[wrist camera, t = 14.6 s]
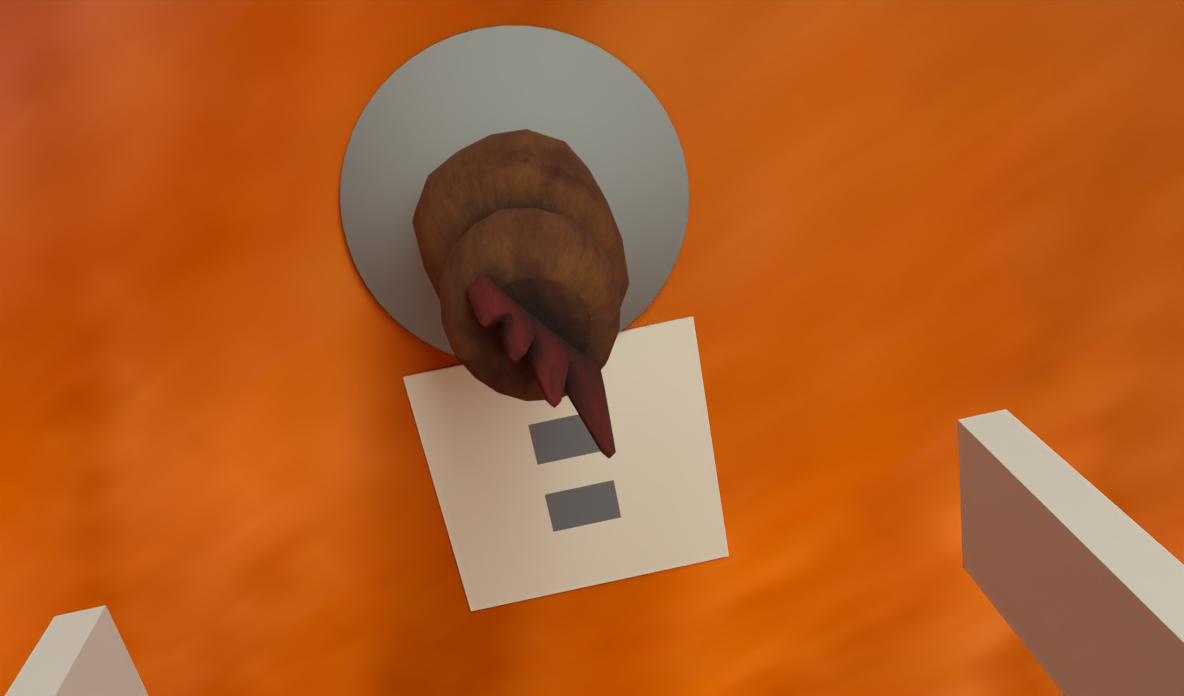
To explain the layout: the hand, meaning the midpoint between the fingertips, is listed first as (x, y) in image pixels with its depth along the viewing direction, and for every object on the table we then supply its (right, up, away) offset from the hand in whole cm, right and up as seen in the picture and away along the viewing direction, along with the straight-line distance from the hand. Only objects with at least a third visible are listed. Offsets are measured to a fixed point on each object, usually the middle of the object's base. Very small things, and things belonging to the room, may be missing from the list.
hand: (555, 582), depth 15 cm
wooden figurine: (-2, +8, +19) cm, 21 cm away
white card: (0, -1, +24) cm, 24 cm away
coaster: (-2, +9, +19) cm, 21 cm away
